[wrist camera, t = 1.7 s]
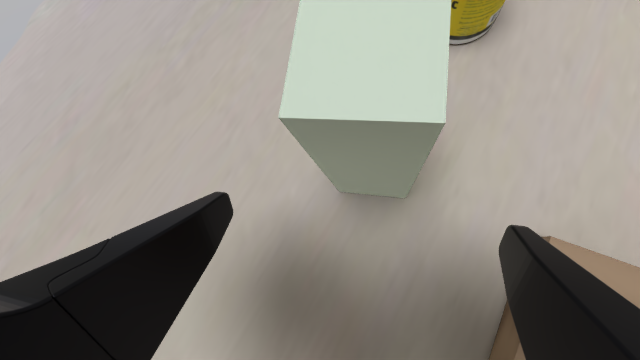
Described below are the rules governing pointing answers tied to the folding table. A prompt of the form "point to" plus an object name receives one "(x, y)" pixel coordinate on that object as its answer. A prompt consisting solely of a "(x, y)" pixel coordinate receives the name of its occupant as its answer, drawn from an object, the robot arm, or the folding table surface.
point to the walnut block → (614, 273)
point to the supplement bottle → (472, 19)
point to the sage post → (368, 89)
